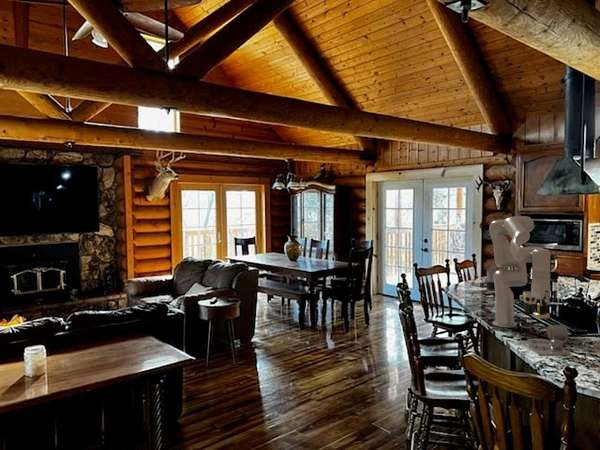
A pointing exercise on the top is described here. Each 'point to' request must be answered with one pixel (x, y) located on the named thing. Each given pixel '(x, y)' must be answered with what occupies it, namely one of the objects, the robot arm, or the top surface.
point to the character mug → (528, 302)
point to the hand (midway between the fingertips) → (541, 312)
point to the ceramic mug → (557, 332)
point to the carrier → (546, 346)
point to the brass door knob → (538, 315)
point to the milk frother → (489, 280)
